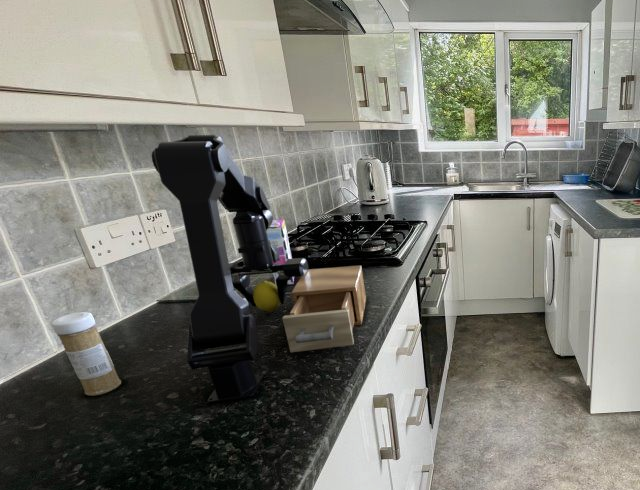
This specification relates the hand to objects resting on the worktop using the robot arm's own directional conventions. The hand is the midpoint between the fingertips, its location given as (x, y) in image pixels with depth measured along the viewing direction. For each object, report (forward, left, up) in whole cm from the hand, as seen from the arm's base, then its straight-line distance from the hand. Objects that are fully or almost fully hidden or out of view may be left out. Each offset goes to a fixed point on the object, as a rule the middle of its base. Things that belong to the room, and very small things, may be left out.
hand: (269, 304), depth 96 cm
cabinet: (-5, -15, -2) cm, 16 cm away
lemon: (0, 0, -2) cm, 2 cm away
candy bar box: (+23, +2, -2) cm, 23 cm away
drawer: (-18, -15, -1) cm, 24 cm away
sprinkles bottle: (-26, +19, -2) cm, 32 cm away
